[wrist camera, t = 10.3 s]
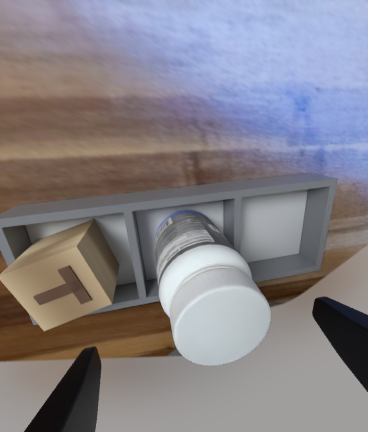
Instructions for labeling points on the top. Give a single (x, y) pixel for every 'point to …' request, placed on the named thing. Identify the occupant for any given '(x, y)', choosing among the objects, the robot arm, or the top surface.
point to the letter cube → (64, 275)
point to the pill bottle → (207, 291)
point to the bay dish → (199, 201)
